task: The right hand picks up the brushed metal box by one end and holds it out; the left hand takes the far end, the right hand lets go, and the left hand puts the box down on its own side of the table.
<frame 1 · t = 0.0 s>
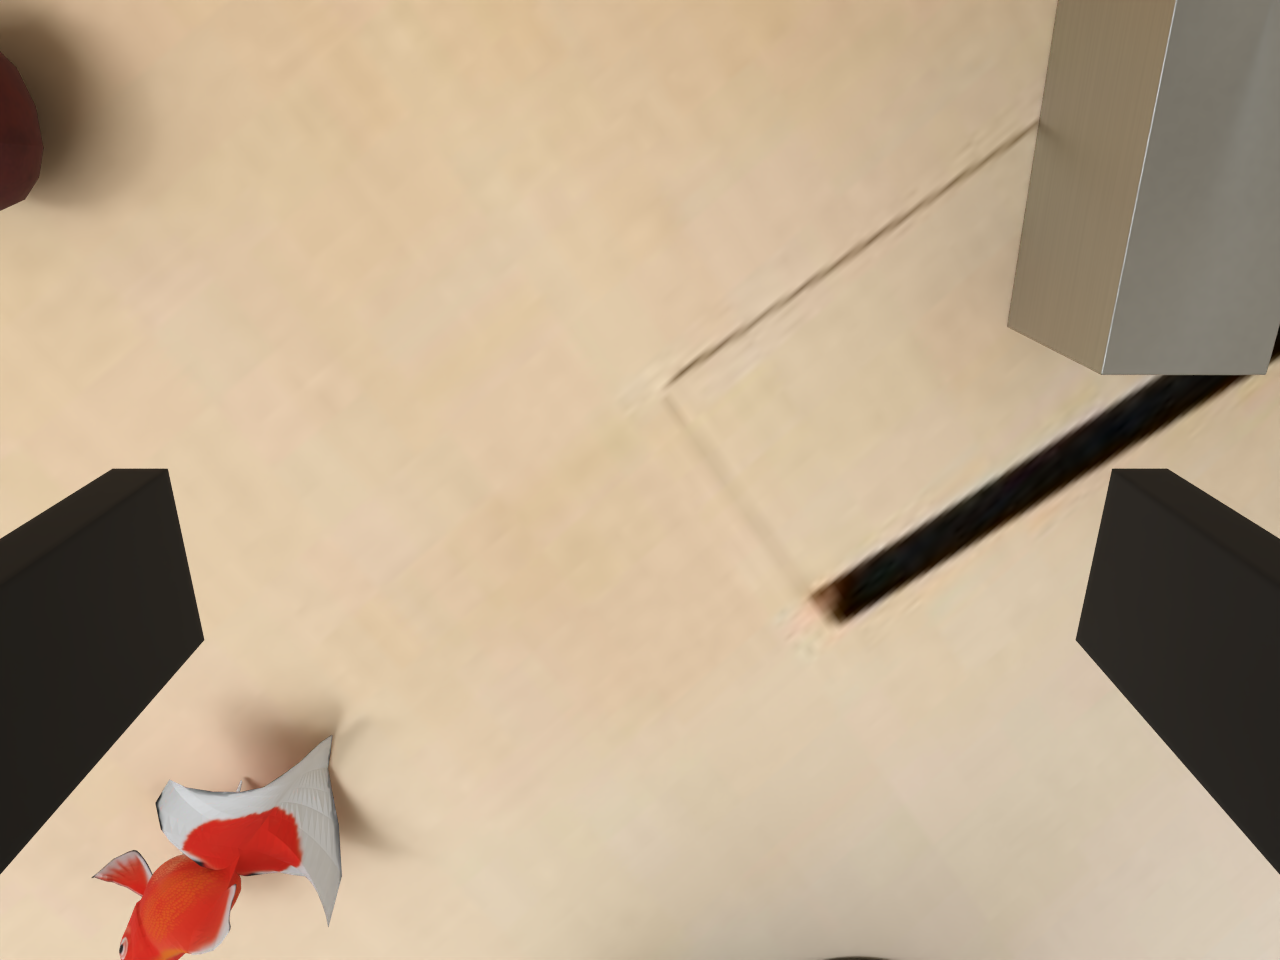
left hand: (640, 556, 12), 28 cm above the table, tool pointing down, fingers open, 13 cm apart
fish: (257, 797, 49), on the table
box: (1127, 27, 35), on the table
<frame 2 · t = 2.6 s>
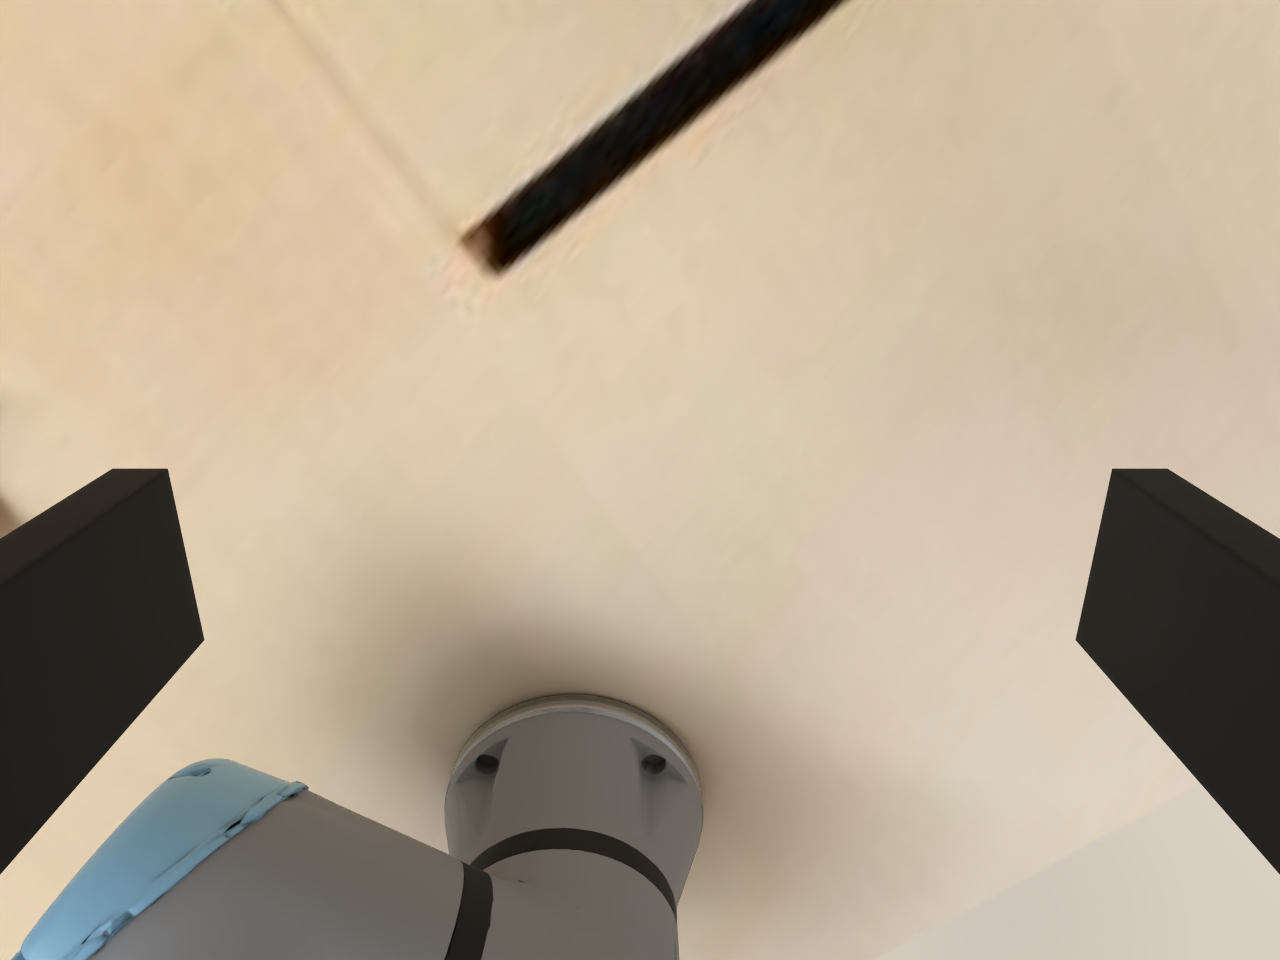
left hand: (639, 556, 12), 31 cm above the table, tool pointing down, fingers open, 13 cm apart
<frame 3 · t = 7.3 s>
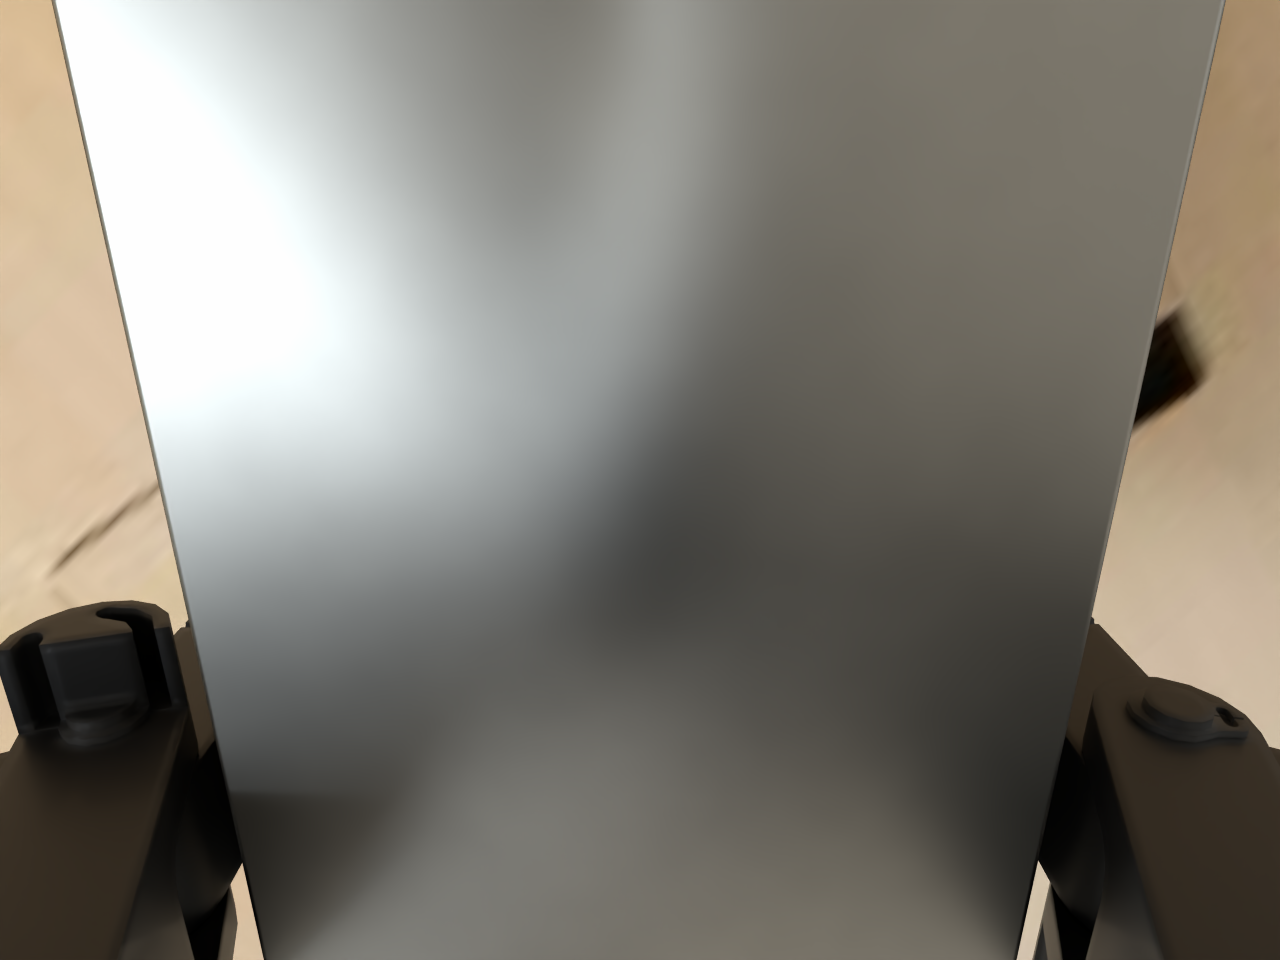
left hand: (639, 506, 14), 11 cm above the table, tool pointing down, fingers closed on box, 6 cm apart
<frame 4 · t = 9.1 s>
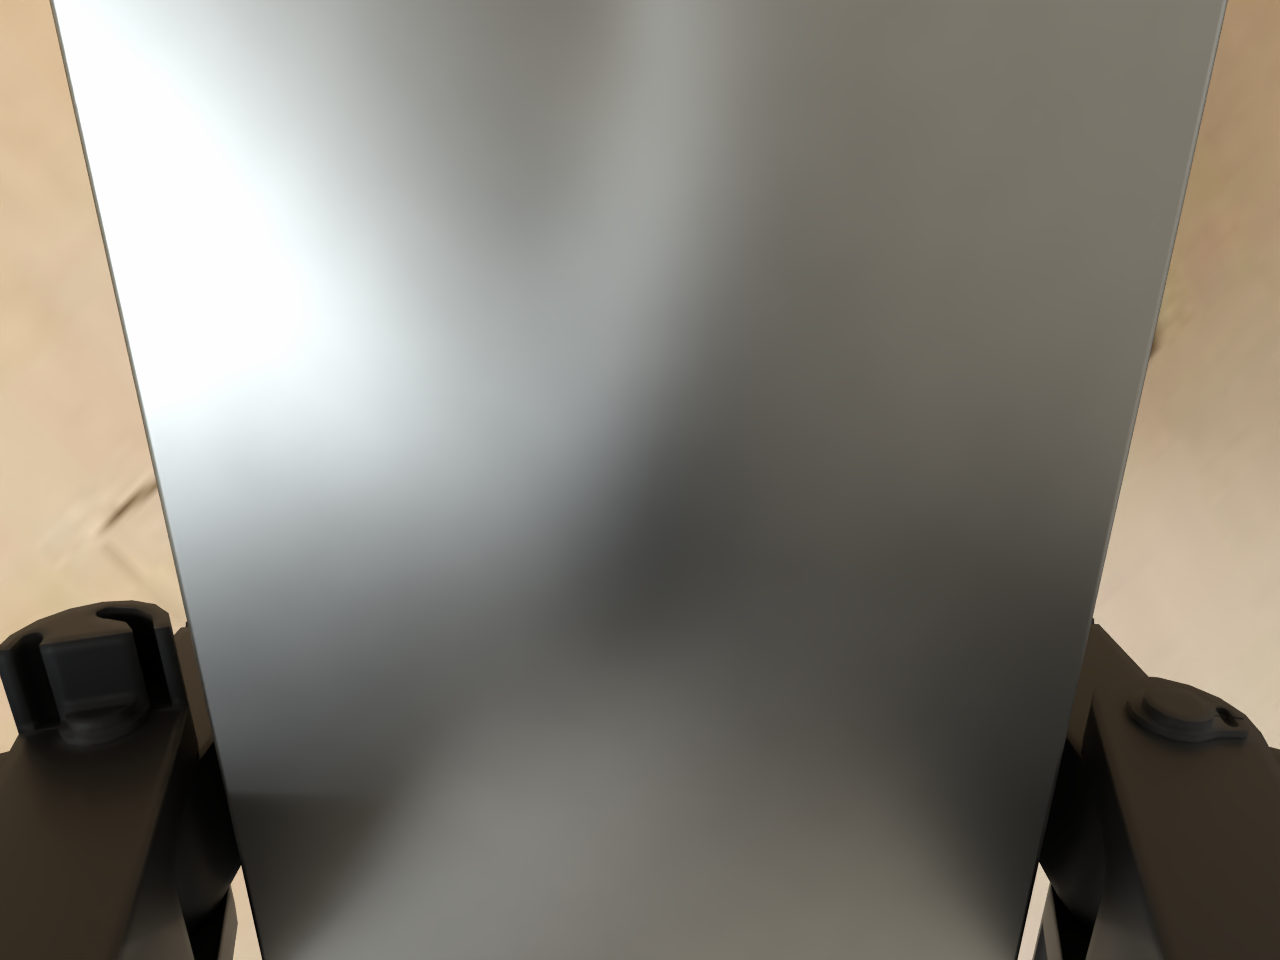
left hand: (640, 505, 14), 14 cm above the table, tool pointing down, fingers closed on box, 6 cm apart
when the left hand's fingers open (2 cm above the table, at t = 12.8 s): box drops 2 cm, on the table.
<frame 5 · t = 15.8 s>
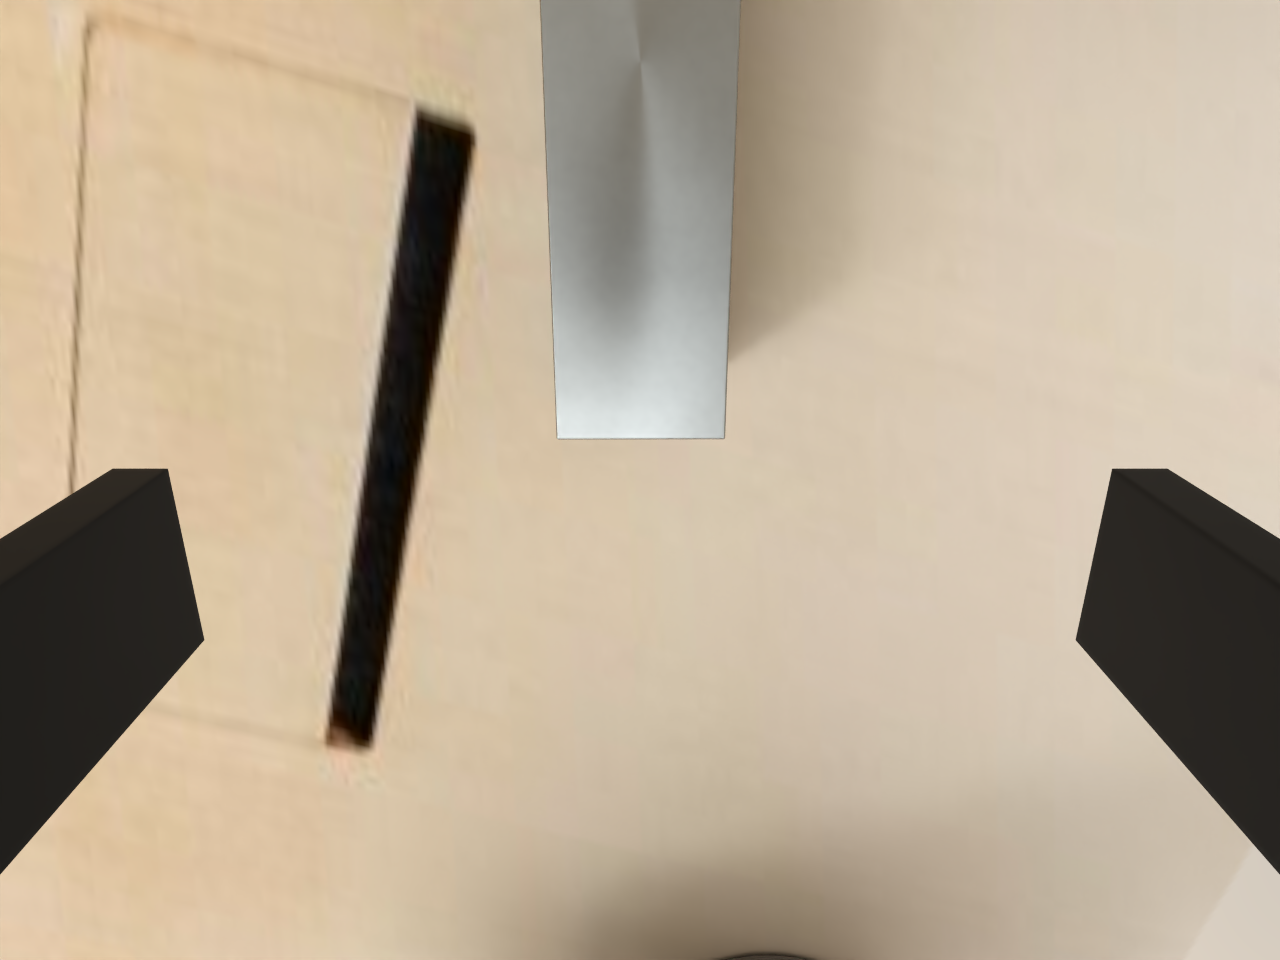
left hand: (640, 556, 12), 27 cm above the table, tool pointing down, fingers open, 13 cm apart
box: (640, 80, 34), on the table
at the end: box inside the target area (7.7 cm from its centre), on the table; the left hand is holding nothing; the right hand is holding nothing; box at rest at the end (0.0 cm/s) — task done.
